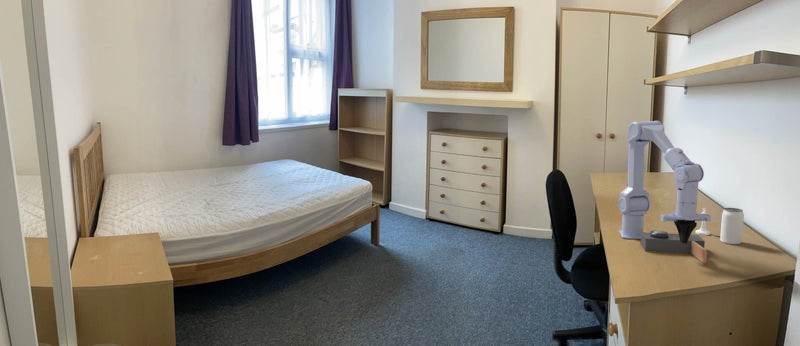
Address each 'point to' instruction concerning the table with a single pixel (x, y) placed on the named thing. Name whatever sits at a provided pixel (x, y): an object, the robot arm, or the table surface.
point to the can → (732, 226)
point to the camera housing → (668, 242)
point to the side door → (699, 252)
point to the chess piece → (703, 226)
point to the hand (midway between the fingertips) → (683, 242)
